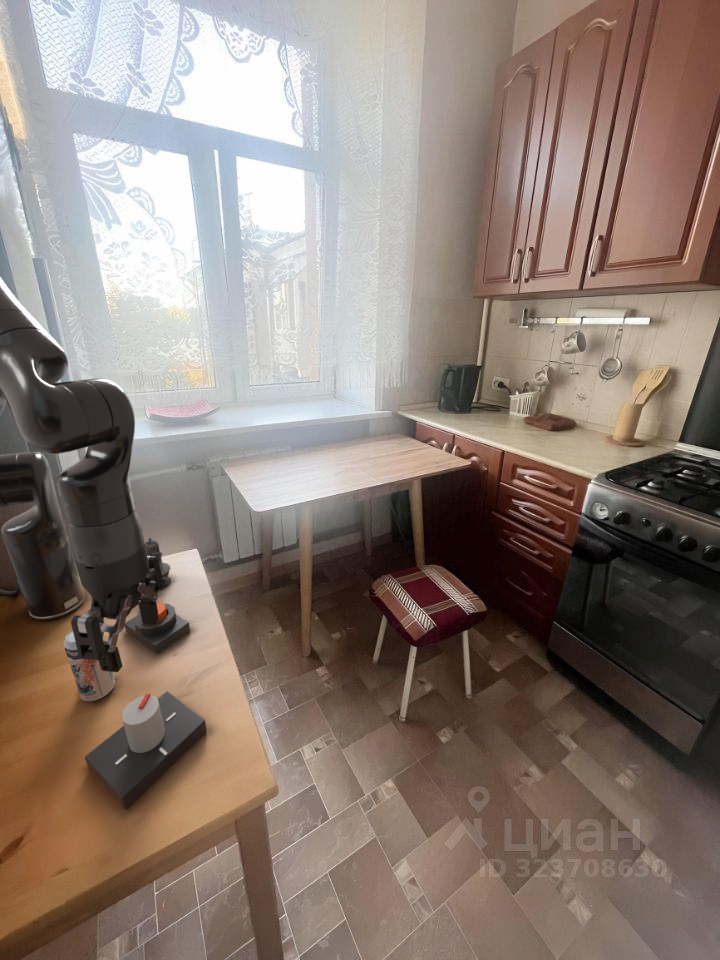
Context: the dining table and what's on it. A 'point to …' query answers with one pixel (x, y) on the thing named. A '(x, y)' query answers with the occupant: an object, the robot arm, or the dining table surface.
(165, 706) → the timer panel
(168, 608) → the button block
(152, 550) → the dark grey stone stupa
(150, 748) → the timer knob
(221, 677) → the dining table surface
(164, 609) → the button
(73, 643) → the beer can
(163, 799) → the dining table surface
